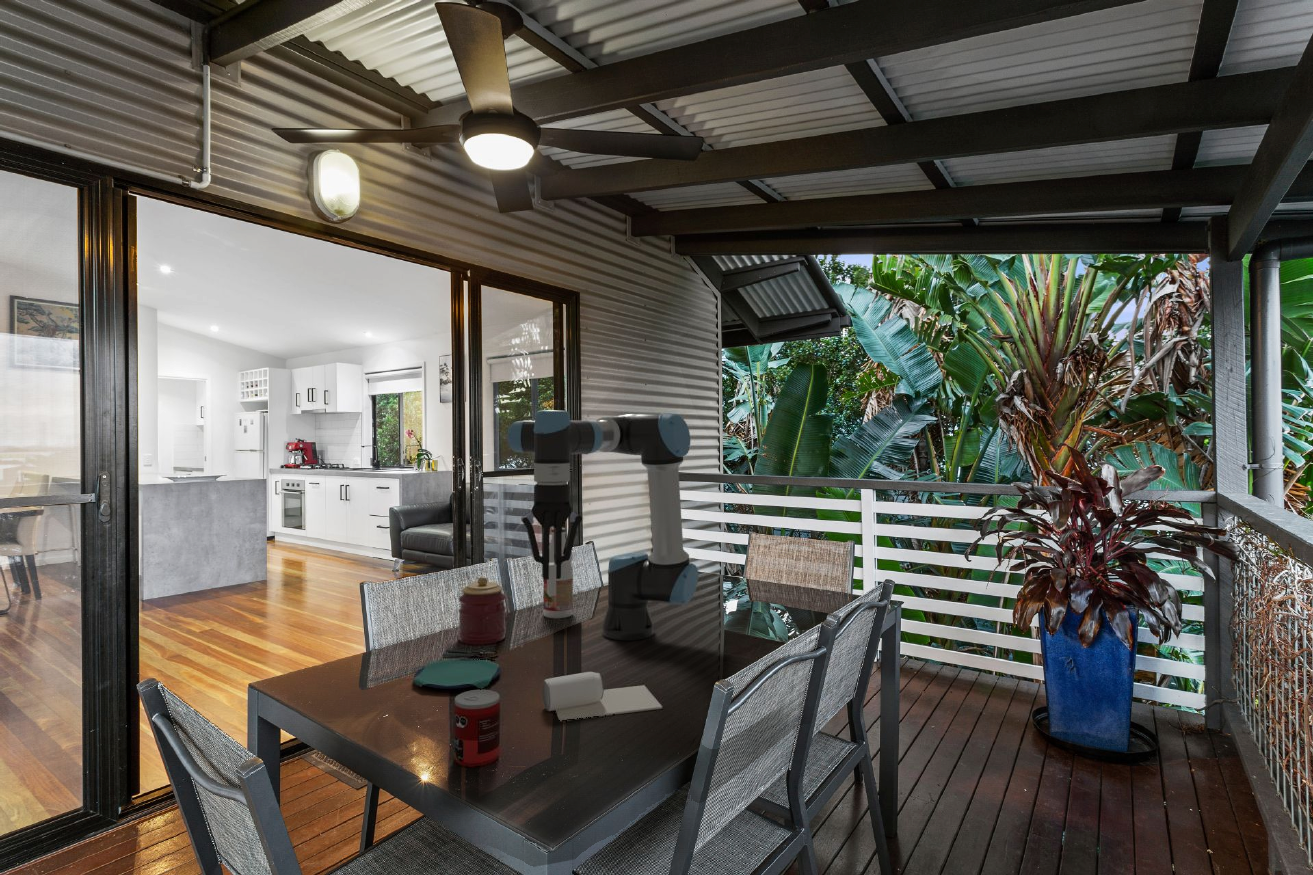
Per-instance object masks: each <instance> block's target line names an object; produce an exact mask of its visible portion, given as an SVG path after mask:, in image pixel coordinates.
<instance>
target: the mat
mask: <svg viewBox="0 0 1313 875" xmlns="http://www.w3.org/2000/svg"><path fill="white" fill-rule="evenodd" d="M661 709H663V706H662V704H661V703H660V702H659V701H658V700H657V699H656V697H655V696H654V695H653V694H652V693H651V692H650V689H648V687H646V686H645V684H643V685H636V686H634V685H633V686H627V687H617V688H609V689H604V694H603V698H602V699H599V700H598V701H596V702H594V703H590V704H585V705H580V706H575V707H569V708H564V709H559V710H554V712H555V711H556V712H555V714H556V713H557V714H556V716H557V718H558V720H560V721H559V722H563V721H562V720H567V719H575V720H580V719H579V718H583V719H589V718H588V717H591V718H594V717H593V716H599V717H606V716H612V715H613V714H615V715H621V714H628V713H636V712H637V713H638V712H646V711H652V710H653V711H654V710H661ZM605 715H606V716H605ZM586 717H587V718H586ZM577 718H578V719H577ZM567 721H568V720H567Z"/></svg>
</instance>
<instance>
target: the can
mask: <svg viewBox="0 0 1313 875" xmlns="http://www.w3.org/2000/svg"><path fill="white" fill-rule="evenodd" d="M604 688H605V687H604V682H603V678H602V675H601V674H600V672H599V671H598V672H593V671H584V672H580V673H574V674H568V675H562V676H557V677H550V678H546V679H545V680H544V681H542V686H541V693H542V694H541V695H542V702H543V706H544V708H545V710H546V711H548V712H551V711H552V712H553V711H555V710H559V709H564V708H569V707H575V706H580V705H585V704H590V703H594V702H596V701H598V700H599V699H602V698H603V694H604V690H605V689H604Z"/></svg>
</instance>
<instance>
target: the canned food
mask: <svg viewBox="0 0 1313 875" xmlns="http://www.w3.org/2000/svg"><path fill="white" fill-rule="evenodd" d="M453 705H454V706H453V707H454V708H453V710H454V711H453V712H454V714H453V715H454V716H453V722H454V724H453V725H454V726H453V727H454V730H453V733H454V734H453V736H454V738H453V739H454V741H453V746H454V747H453V748H454V749H453V752H454V753H453V756H454V759H455V761H456V763H457V764H458V765H460V766H463V767H465V766H467V768H476V767H475V766H481V767H484V765H485V766H488V765H490V764H493V762H495V761H496V760H497V759H498V758H499V755H500V747H501V745H500V743H501V742H500V741H501V739H500V737H501V735H500V733H501V732H500V731H501V728H500V727H501V726H500V725H501V724H500V723H501V722H500V721H501V698H500V694H499V693H498V692H497V691H495V690H489V689H481V690H480V689H473V690H468V691H464V692H461V693H460V694H457V695H456V696H455V698H454V704H453ZM487 764H488V765H487Z"/></svg>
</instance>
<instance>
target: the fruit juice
mask: <svg viewBox="0 0 1313 875" xmlns="http://www.w3.org/2000/svg"><path fill="white" fill-rule="evenodd" d="M550 534H551V539H550V541H549V563H553V562H554V527H550ZM566 534H567V528H565V527H562V555H563V551H564V547H565V542H566ZM572 562H573V551H572V552H571V556H570V559H569V560H568V561H564V562H562V564H561V578H560V579H556V596H549V595H548V594H547V580H544V579H543V578H542V579H543V582H542V583H543V594H542V595H543V596H542V597H543V600H542V601H543V602H542V603H543V604H542V606H543V607H542V608H543V609H542V610H543V612H542V613H543V616H544V617H545V618H549V619H563V618H564V619H565V618H568V617H571V616H572V615H573V612H574V610H573V609H574V608H573V606H574V605H573V604H574V602H573V601H574V599H573V598H574V595H573V594H574V593H573V591H574V590H573V588H574V571H573V567H572Z"/></svg>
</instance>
